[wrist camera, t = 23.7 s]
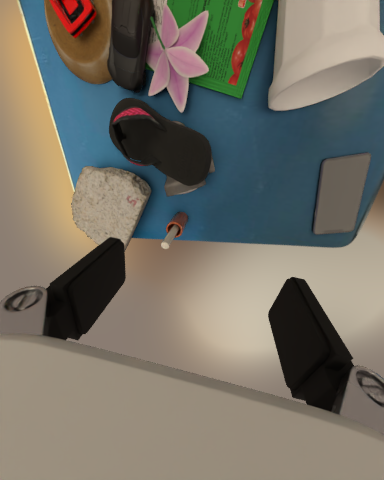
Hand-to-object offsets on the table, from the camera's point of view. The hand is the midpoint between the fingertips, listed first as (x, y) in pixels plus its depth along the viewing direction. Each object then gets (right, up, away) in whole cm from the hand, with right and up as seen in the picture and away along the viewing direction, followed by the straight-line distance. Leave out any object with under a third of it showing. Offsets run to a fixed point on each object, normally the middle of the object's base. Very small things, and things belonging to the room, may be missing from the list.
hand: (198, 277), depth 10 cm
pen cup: (-3, +7, +32) cm, 33 cm away
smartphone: (+28, +11, +25) cm, 39 cm away
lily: (-5, +31, +11) cm, 33 cm away
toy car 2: (-10, +34, +18) cm, 39 cm away
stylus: (-3, +7, +31) cm, 32 cm away
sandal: (-6, +19, +19) cm, 28 cm away
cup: (+14, +37, +9) cm, 41 cm away
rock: (-18, +12, +33) cm, 40 cm away
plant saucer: (-18, +37, +16) cm, 44 cm away
